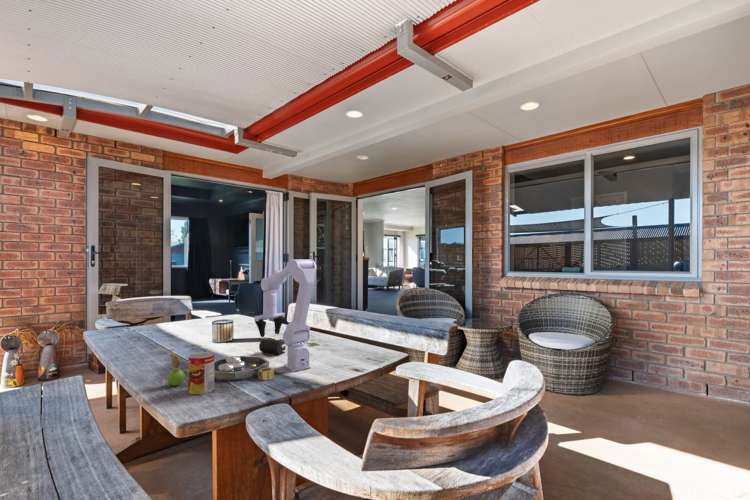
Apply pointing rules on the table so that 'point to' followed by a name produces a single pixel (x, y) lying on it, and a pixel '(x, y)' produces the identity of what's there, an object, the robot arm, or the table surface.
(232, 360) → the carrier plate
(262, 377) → the gold octagonal ring
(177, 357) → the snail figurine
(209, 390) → the canned food
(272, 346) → the end cap
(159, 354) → the table surface
